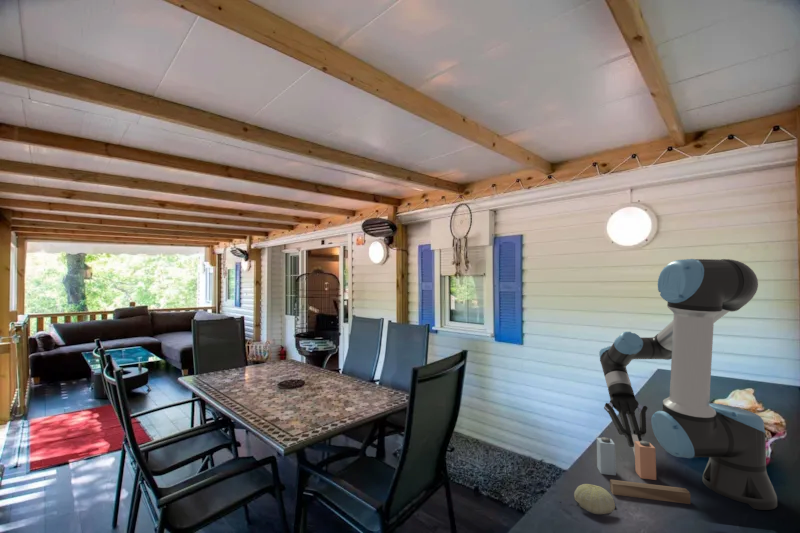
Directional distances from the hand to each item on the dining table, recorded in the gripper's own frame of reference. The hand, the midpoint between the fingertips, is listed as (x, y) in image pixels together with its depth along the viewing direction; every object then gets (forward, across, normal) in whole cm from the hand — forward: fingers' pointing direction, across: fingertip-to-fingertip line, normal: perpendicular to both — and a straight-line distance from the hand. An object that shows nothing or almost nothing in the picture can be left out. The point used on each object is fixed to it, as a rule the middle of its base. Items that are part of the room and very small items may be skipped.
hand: (639, 457), depth 112 cm
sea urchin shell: (+19, +18, +12) cm, 28 cm away
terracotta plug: (+5, 0, 0) cm, 5 cm away
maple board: (+10, +3, +3) cm, 11 cm away
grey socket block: (+5, +10, 0) cm, 12 cm away
